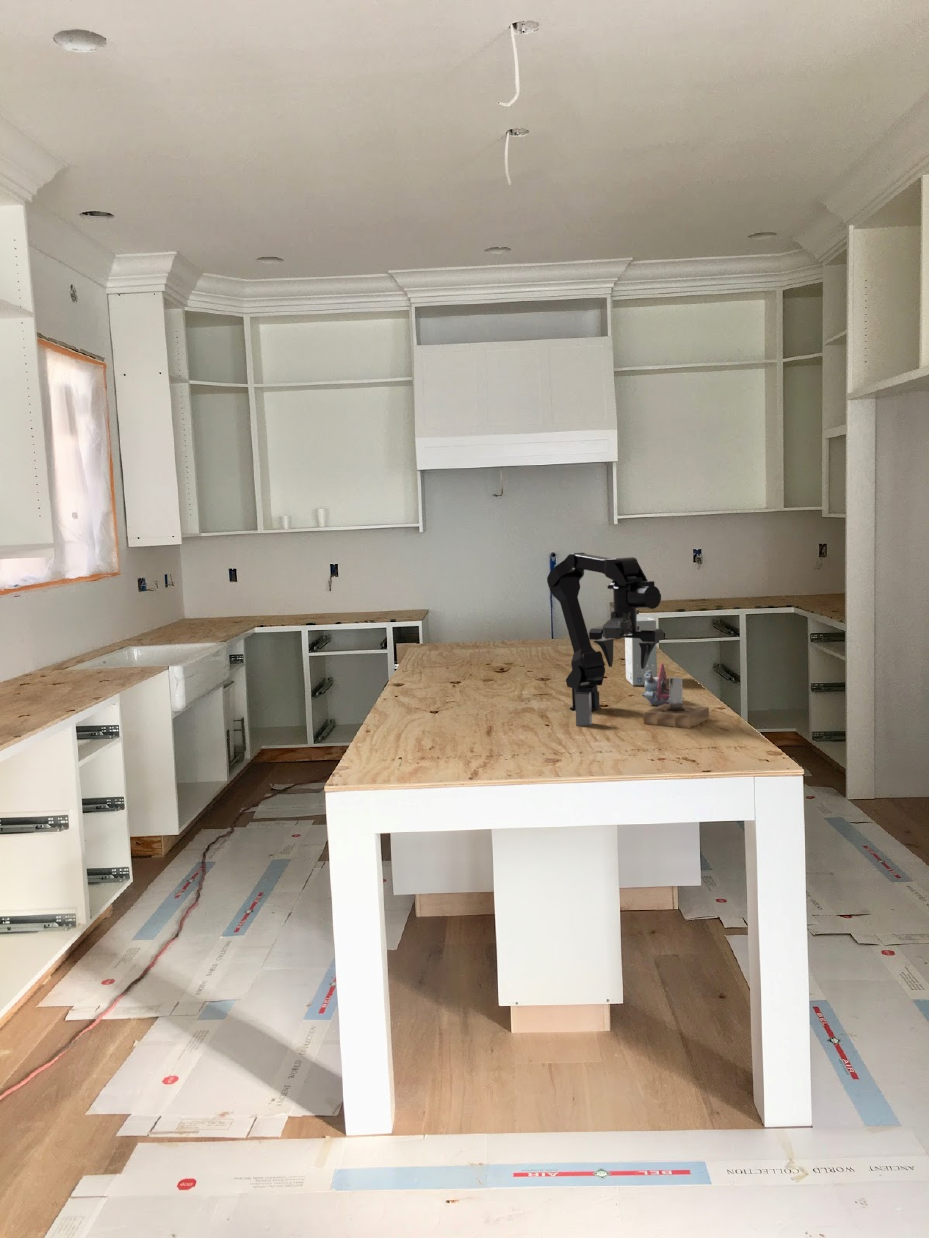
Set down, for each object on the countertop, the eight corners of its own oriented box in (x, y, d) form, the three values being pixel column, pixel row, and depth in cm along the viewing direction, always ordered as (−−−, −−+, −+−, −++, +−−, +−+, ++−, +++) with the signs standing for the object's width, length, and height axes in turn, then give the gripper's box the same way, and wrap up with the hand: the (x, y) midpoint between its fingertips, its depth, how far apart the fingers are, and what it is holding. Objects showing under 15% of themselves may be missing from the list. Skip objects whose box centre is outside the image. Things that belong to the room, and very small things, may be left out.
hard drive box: (657, 685, 301) (656, 620, 299) (632, 686, 301) (630, 621, 299) (649, 677, 316) (647, 615, 314) (625, 678, 316) (623, 616, 315)
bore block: (643, 723, 247) (643, 711, 247) (664, 715, 256) (664, 703, 256) (688, 728, 240) (688, 715, 239) (709, 719, 249) (708, 707, 249)
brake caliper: (683, 698, 265) (655, 662, 267) (651, 721, 269) (624, 686, 271) (690, 691, 276) (663, 656, 278) (660, 713, 280) (633, 679, 282)
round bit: (669, 722, 247) (668, 679, 246) (670, 720, 250) (669, 677, 249) (682, 722, 246) (682, 679, 245) (683, 720, 249) (682, 676, 248)
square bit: (576, 725, 248) (575, 694, 247) (578, 723, 251) (577, 691, 250) (589, 726, 247) (588, 694, 246) (592, 723, 250) (591, 692, 249)
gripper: (577, 609, 251) (578, 670, 253) (643, 610, 240) (645, 674, 242) (598, 605, 260) (600, 664, 262) (664, 606, 249) (665, 668, 251)
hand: (626, 667), depth 254 cm, fingers open, 9 cm apart
